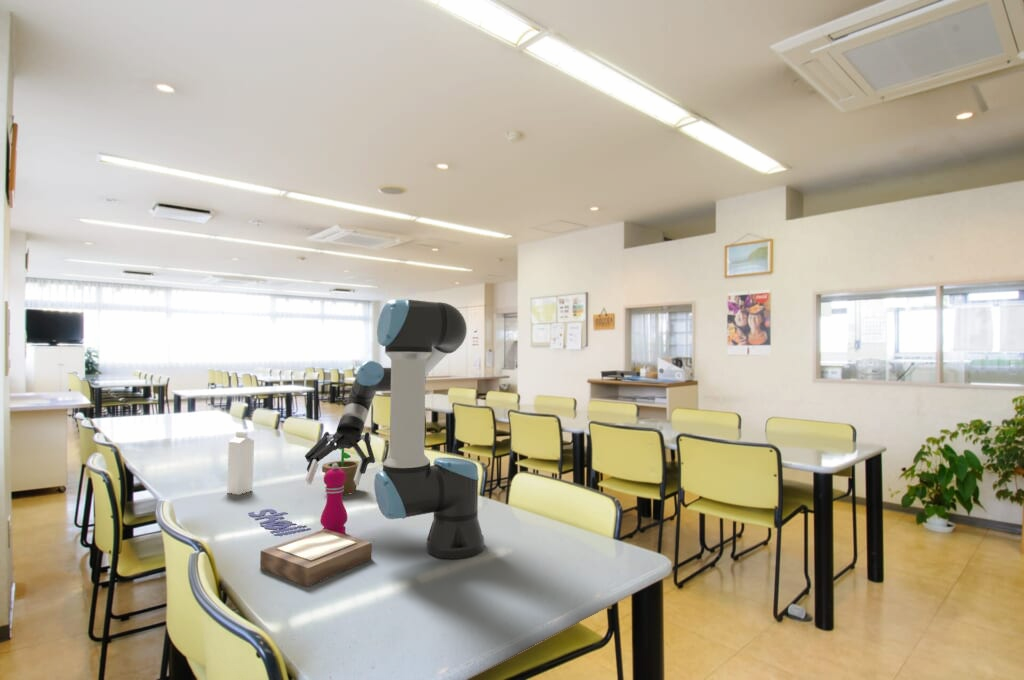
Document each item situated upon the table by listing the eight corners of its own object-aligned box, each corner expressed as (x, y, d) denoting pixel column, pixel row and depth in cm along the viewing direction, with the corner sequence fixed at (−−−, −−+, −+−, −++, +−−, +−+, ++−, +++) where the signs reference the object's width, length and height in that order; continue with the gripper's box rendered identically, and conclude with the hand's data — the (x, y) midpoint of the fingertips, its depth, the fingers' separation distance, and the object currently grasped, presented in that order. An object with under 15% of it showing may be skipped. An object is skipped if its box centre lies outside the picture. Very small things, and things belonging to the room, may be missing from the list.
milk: (241, 489, 187) (243, 430, 188) (252, 491, 185) (254, 431, 186) (226, 493, 181) (228, 432, 182) (237, 495, 179) (240, 433, 180)
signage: (245, 512, 158) (278, 506, 164) (245, 515, 158) (278, 508, 164) (274, 536, 137) (311, 528, 144) (274, 538, 137) (310, 530, 144)
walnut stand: (371, 558, 123) (371, 541, 123) (307, 586, 108) (308, 566, 108) (324, 544, 132) (325, 527, 132) (260, 567, 117) (260, 549, 117)
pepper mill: (350, 530, 143) (351, 460, 144) (342, 539, 136) (344, 466, 137) (325, 530, 143) (326, 460, 144) (316, 539, 136) (317, 466, 137)
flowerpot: (370, 490, 187) (371, 410, 188) (339, 499, 175) (341, 414, 176) (344, 485, 194) (345, 408, 195) (312, 493, 182) (314, 411, 183)
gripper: (394, 429, 156) (378, 490, 141) (316, 428, 157) (292, 488, 141) (389, 414, 151) (373, 475, 135) (309, 413, 152) (284, 474, 136)
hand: (332, 482), depth 138 cm, fingers open, 13 cm apart
